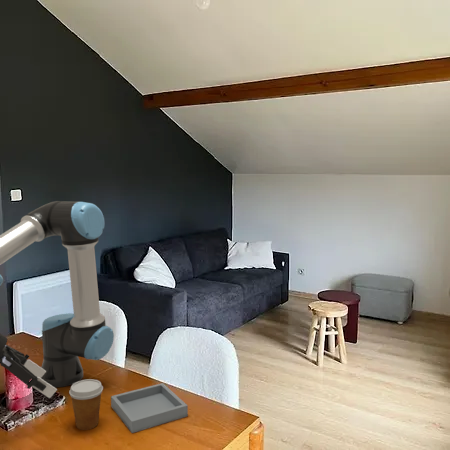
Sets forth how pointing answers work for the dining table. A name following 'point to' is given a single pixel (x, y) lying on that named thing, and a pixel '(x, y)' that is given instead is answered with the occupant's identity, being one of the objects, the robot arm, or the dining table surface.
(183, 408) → the tray
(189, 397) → the dining table surface
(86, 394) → the disposable coffee cup
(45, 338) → the robot arm
